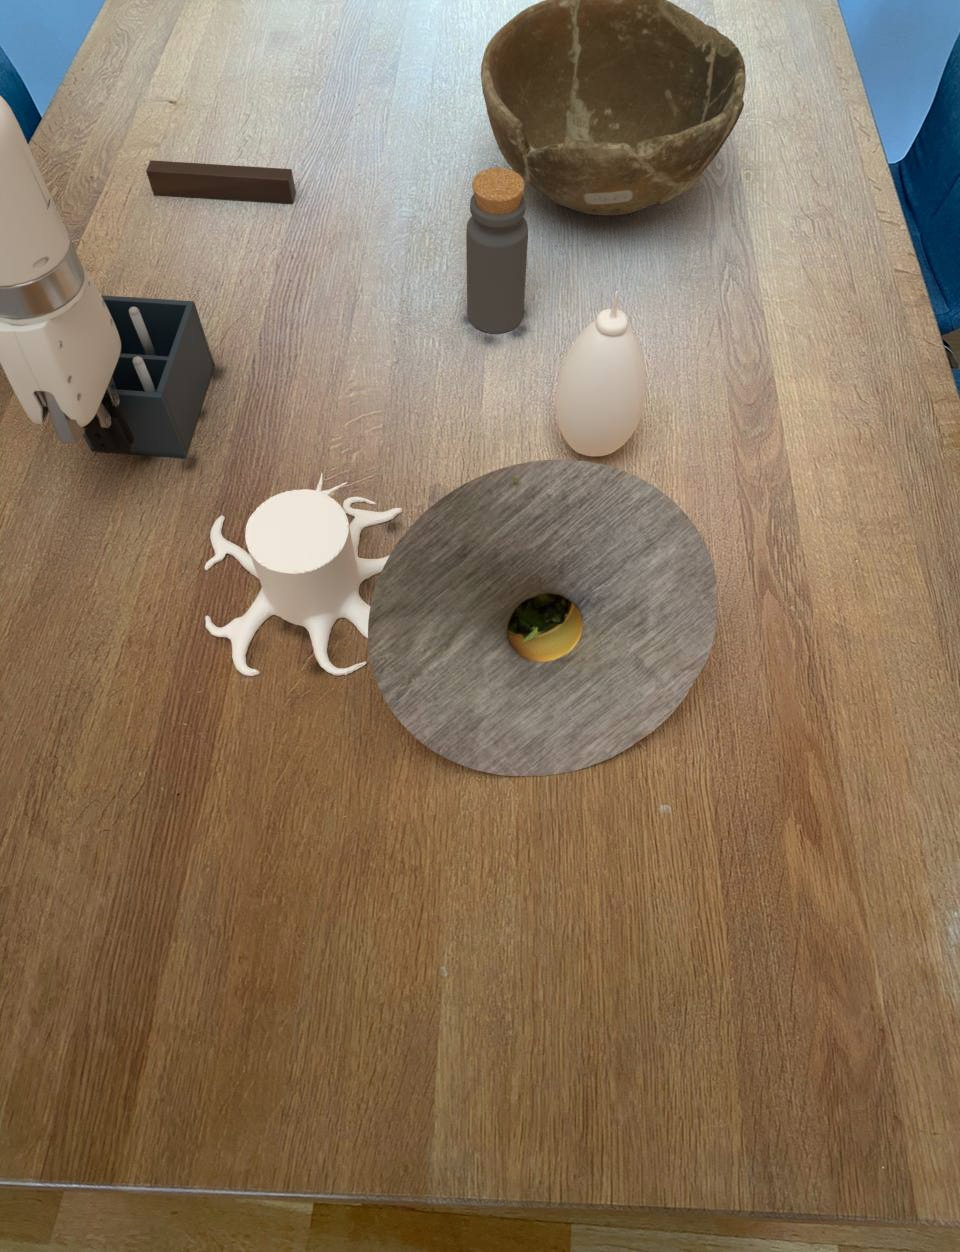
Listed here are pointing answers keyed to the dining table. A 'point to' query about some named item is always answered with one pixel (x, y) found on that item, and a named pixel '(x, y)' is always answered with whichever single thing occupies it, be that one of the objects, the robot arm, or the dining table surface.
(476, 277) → the bottle
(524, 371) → the dining table surface
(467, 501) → the grey flared vase
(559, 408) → the sauce bottle
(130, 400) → the cutlery holder
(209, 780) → the dining table surface
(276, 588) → the tree stump
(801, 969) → the dining table surface
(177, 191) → the rail
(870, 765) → the dining table surface
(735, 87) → the bowl
